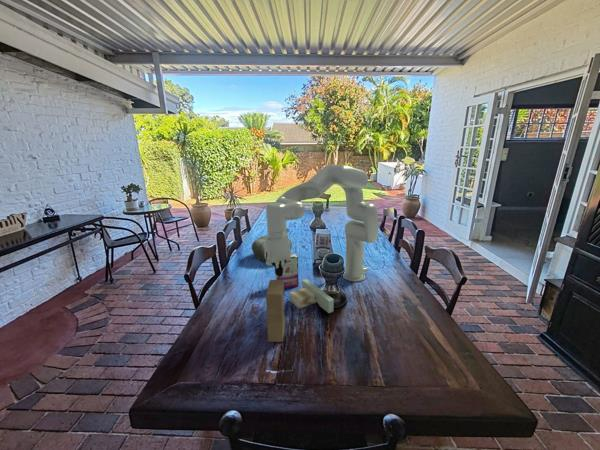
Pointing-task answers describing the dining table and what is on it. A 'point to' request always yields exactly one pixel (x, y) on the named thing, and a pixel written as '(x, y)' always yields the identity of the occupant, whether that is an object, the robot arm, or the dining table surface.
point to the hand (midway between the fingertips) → (279, 275)
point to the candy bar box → (290, 272)
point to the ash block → (302, 297)
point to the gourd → (261, 247)
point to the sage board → (320, 296)
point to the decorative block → (275, 310)
